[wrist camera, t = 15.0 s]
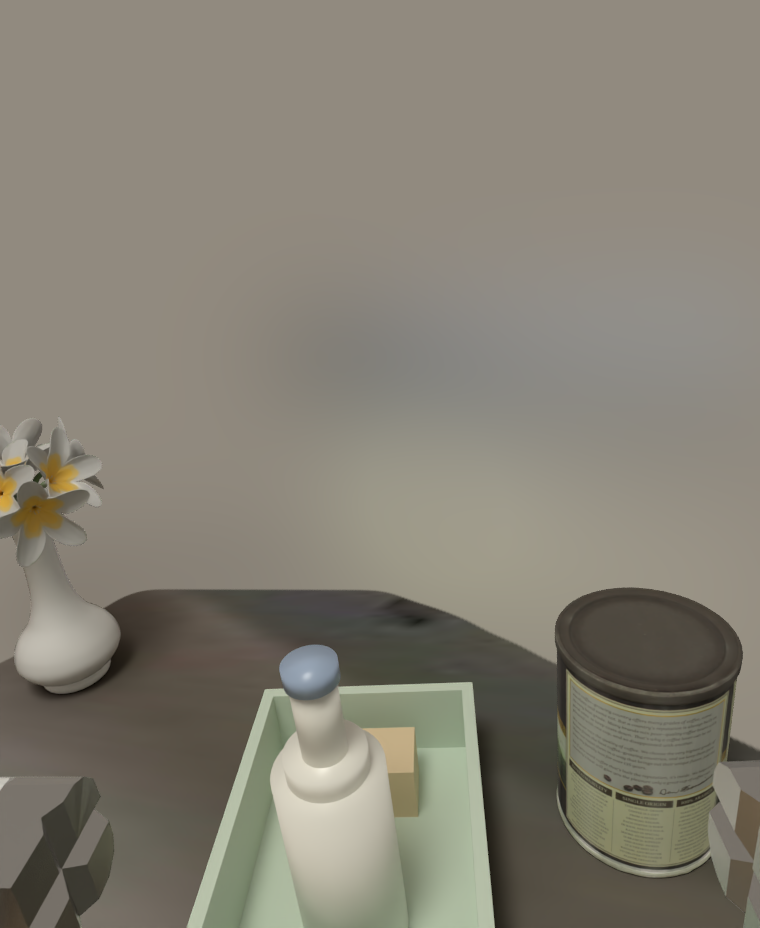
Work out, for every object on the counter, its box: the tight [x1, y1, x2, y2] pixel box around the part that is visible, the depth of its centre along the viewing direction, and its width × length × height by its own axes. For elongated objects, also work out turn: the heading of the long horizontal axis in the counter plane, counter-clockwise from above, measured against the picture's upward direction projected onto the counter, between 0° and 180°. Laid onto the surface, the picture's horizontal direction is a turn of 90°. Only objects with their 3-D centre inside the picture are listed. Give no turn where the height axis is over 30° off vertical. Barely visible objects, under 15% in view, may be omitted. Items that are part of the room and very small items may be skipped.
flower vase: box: [0, 416, 121, 694], centre depth 59 cm, size 13×18×25 cm
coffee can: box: [555, 588, 743, 878], centre depth 42 cm, size 10×10×14 cm
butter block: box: [361, 727, 419, 817], centre depth 46 cm, size 7×4×4 cm, turn 86°
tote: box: [187, 682, 495, 928], centre depth 40 cm, size 16×22×6 cm
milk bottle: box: [270, 645, 409, 928], centre depth 35 cm, size 6×6×19 cm
